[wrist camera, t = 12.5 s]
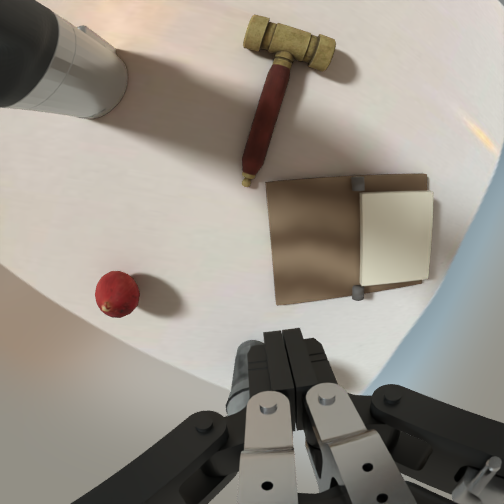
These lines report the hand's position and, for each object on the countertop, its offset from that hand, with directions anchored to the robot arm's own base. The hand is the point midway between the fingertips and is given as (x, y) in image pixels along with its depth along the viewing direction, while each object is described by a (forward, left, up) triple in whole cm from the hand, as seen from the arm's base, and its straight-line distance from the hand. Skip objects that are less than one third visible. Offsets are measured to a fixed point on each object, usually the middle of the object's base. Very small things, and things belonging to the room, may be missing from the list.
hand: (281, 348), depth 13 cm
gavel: (-13, +3, -28) cm, 31 cm away
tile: (+4, +18, -24) cm, 30 cm away
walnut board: (+4, +13, -27) cm, 30 cm away
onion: (+7, -18, -27) cm, 33 cm away
